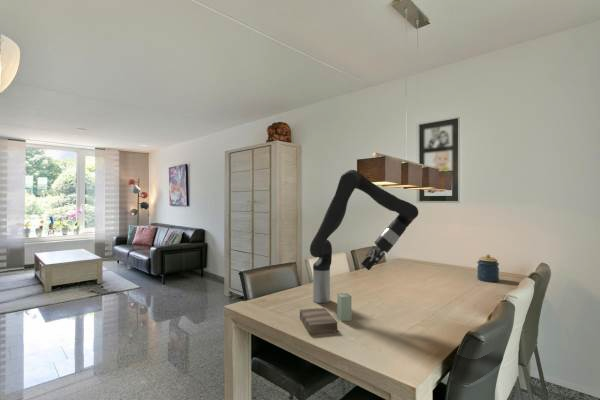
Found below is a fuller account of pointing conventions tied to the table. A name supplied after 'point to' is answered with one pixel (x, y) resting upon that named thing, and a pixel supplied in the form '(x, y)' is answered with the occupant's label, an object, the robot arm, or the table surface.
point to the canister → (488, 269)
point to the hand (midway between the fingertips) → (364, 267)
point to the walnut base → (318, 321)
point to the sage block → (344, 307)
